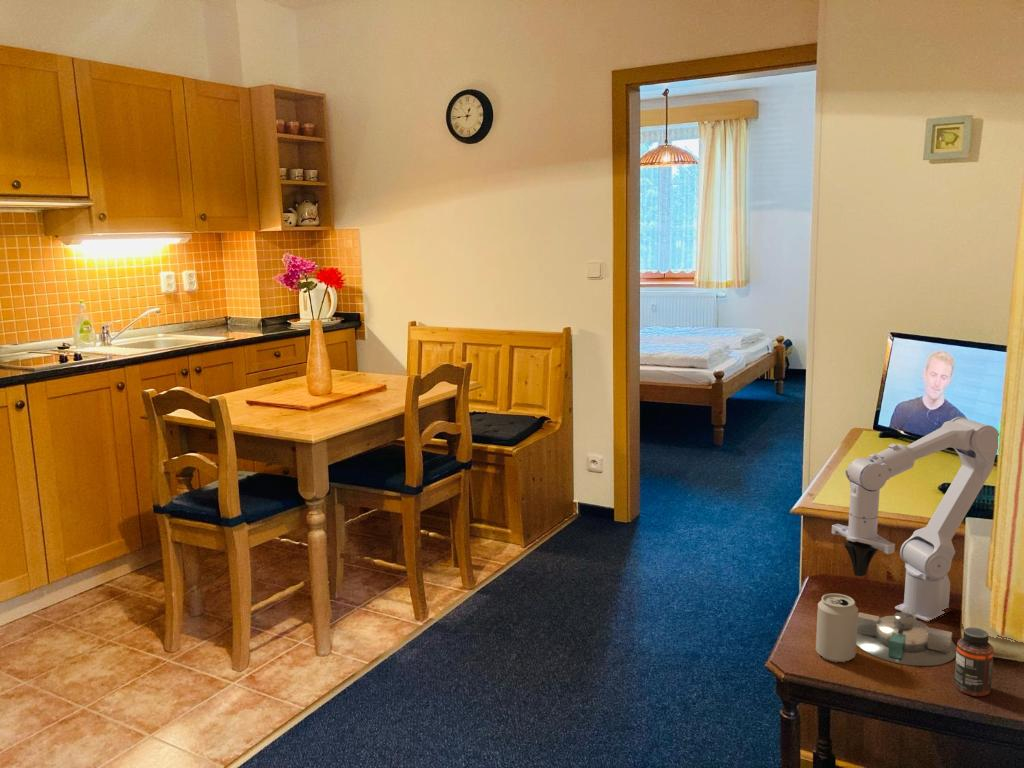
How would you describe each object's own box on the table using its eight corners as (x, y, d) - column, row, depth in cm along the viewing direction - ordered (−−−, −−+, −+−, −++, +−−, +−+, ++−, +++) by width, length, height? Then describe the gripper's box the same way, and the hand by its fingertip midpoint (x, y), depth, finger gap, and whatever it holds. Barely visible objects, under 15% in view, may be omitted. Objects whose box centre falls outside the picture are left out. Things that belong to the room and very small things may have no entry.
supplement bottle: (984, 682, 158) (989, 626, 156) (995, 699, 153) (1000, 641, 150) (949, 679, 160) (954, 623, 158) (958, 696, 154) (963, 638, 152)
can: (858, 666, 165) (862, 608, 163) (818, 663, 166) (821, 605, 164) (851, 647, 172) (854, 592, 170) (812, 644, 174) (815, 589, 171)
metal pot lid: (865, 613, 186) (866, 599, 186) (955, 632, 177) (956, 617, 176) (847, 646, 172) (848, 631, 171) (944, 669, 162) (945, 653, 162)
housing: (888, 611, 188) (889, 587, 187) (977, 647, 171) (979, 622, 170) (829, 635, 177) (830, 610, 176) (918, 676, 161) (920, 649, 160)
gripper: (823, 508, 185) (820, 567, 188) (880, 528, 173) (876, 590, 175) (845, 503, 189) (842, 560, 191) (902, 521, 176) (898, 583, 179)
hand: (860, 574), depth 183 cm, fingers closed
